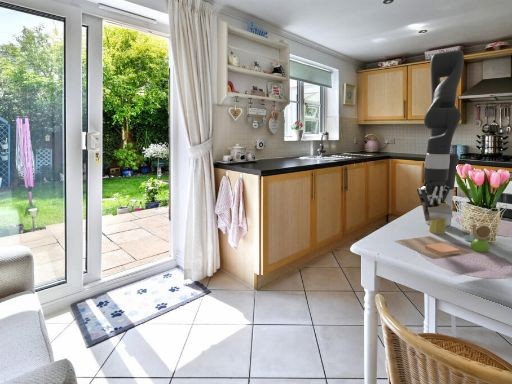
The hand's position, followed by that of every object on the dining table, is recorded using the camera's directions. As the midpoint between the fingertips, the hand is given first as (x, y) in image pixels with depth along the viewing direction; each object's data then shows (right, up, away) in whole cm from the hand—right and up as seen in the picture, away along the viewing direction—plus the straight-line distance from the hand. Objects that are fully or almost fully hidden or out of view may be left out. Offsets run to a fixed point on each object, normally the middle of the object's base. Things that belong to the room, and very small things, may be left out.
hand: (431, 214), depth 115 cm
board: (0, -13, +1) cm, 13 cm away
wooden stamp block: (+1, -2, -1) cm, 2 cm away
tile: (+1, -11, 0) cm, 11 cm away
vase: (+12, -10, +17) cm, 23 cm away
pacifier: (+19, -12, +9) cm, 24 cm away
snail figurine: (+15, -14, -2) cm, 21 cm away
